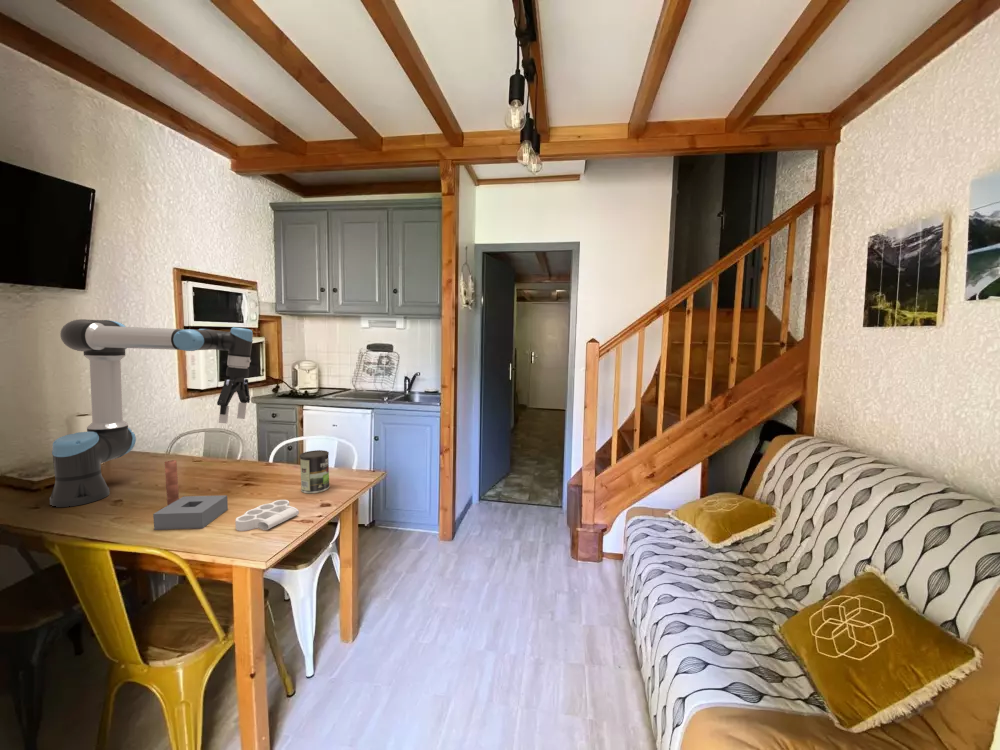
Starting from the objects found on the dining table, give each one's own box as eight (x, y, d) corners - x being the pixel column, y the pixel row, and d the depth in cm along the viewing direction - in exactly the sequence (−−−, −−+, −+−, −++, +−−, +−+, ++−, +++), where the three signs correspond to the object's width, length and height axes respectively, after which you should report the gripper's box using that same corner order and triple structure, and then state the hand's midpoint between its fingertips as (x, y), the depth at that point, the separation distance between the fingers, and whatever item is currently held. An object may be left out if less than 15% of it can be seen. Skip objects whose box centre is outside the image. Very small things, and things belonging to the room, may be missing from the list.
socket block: (154, 529, 127) (153, 514, 127) (184, 510, 141) (183, 496, 141) (202, 528, 128) (201, 512, 128) (227, 509, 142) (227, 495, 142)
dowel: (165, 508, 143) (162, 463, 141) (171, 504, 146) (168, 460, 144) (175, 508, 143) (172, 462, 141) (181, 504, 146) (178, 460, 145)
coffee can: (333, 484, 167) (333, 450, 166) (322, 493, 157) (321, 457, 156) (308, 483, 168) (307, 449, 166) (295, 493, 157) (294, 457, 156)
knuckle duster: (259, 536, 124) (225, 528, 129) (306, 513, 141) (274, 506, 146) (259, 526, 124) (224, 518, 129) (306, 503, 141) (274, 497, 146)
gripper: (231, 368, 151) (225, 425, 152) (262, 368, 176) (257, 417, 176) (209, 366, 151) (203, 424, 151) (243, 366, 175) (238, 416, 175)
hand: (232, 420), depth 163 cm, fingers open, 13 cm apart
